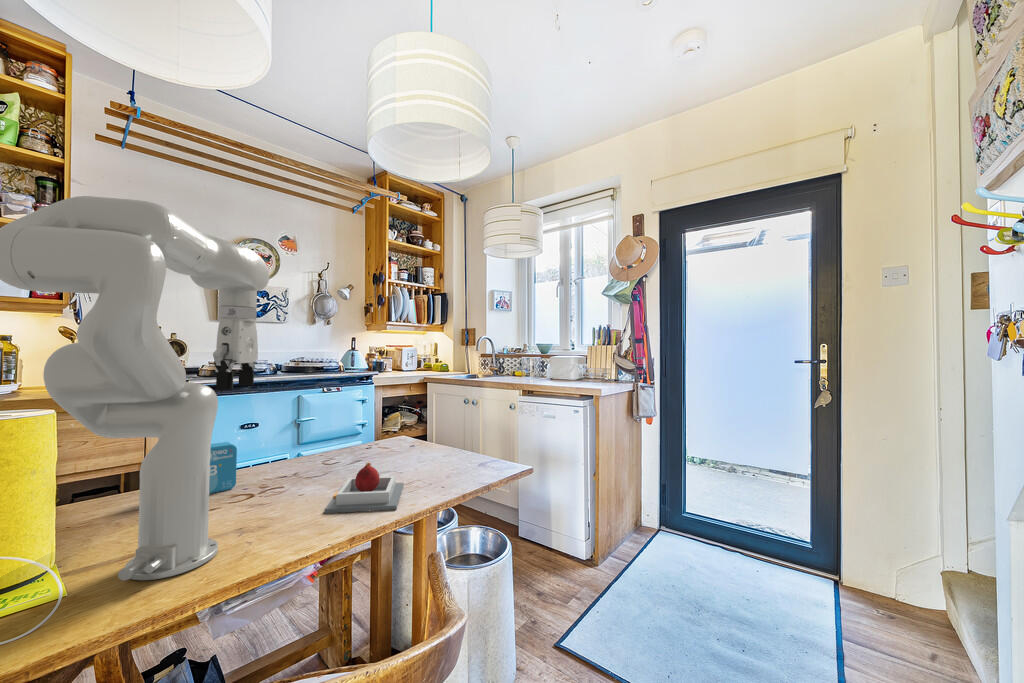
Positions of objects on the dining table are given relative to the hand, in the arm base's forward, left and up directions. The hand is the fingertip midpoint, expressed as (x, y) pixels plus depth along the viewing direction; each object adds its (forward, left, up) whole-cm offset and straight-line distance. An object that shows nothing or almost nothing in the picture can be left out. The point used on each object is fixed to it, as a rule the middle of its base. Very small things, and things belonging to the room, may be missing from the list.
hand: (235, 387), depth 95 cm
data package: (+12, +12, -29) cm, 33 cm away
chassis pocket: (+2, -30, -28) cm, 41 cm away
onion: (+2, -30, -28) cm, 41 cm away
